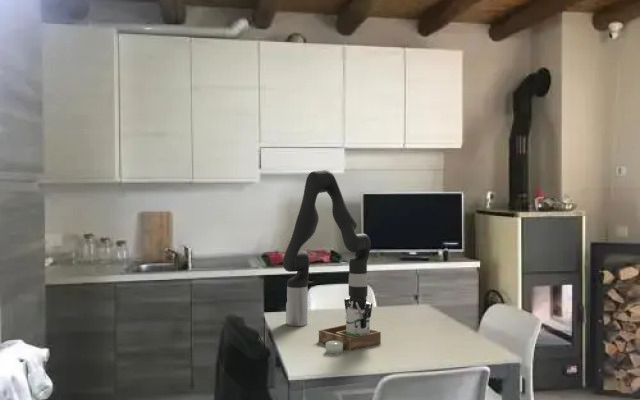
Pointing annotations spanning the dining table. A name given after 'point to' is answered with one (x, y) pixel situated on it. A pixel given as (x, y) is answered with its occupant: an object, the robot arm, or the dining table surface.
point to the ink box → (355, 323)
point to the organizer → (349, 338)
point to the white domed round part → (334, 347)
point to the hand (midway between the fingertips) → (358, 326)
